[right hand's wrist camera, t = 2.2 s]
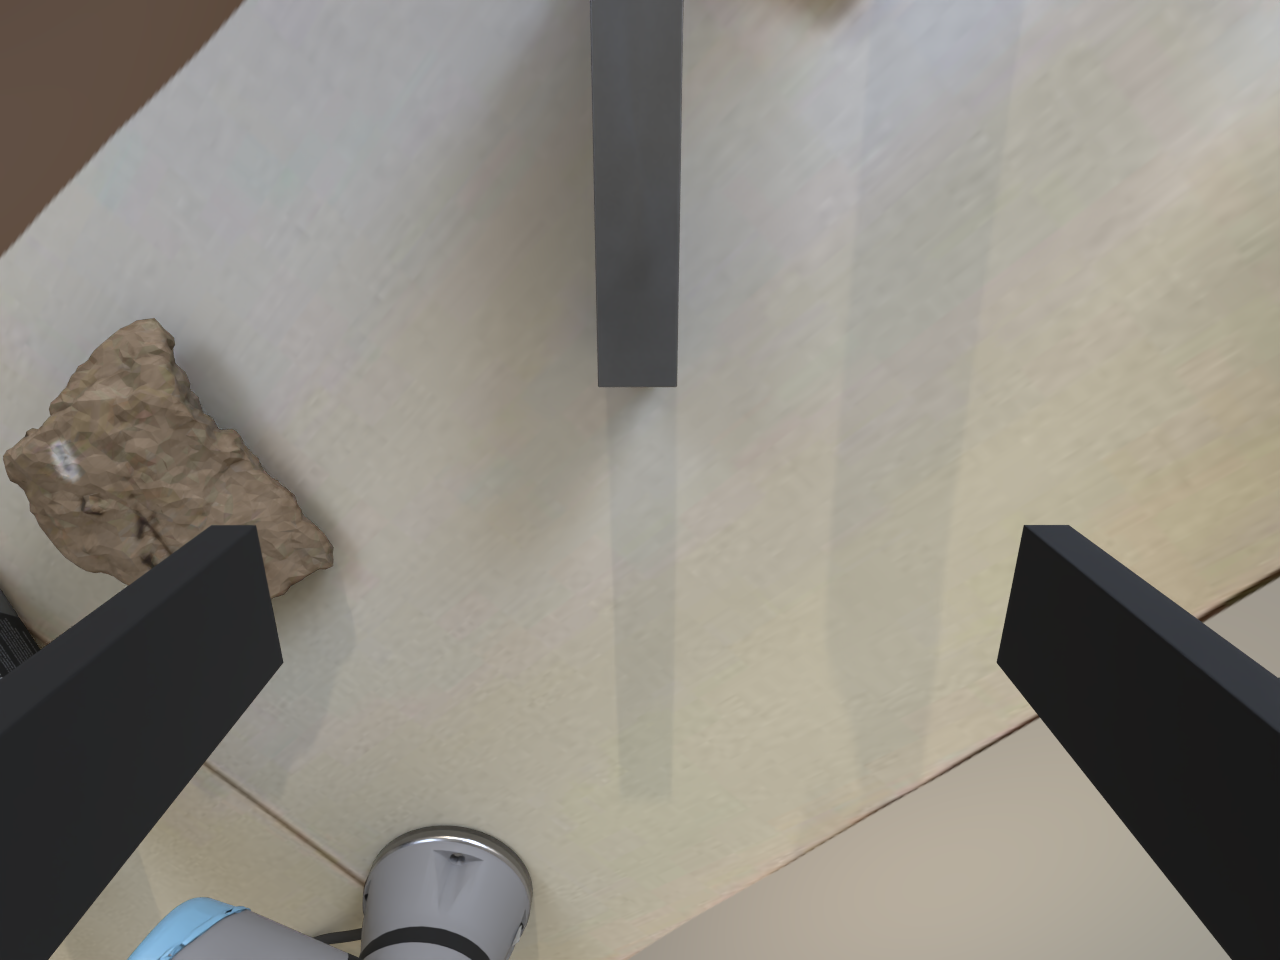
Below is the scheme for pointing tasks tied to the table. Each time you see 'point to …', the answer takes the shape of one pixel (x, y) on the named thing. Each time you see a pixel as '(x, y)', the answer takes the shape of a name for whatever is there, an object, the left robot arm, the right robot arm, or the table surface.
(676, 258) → the bar
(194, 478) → the stone
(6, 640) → the graphics card box
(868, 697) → the table surface
